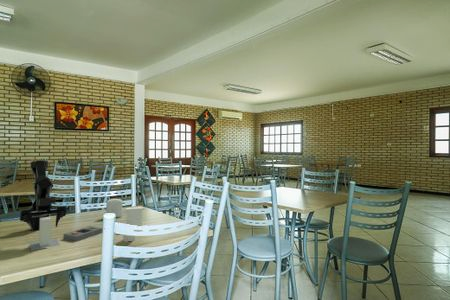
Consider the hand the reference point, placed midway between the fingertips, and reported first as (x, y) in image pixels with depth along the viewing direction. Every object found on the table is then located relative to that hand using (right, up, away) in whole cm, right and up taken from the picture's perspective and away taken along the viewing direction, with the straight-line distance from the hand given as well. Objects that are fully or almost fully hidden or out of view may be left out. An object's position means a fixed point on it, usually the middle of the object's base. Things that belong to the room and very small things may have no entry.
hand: (45, 228), depth 128 cm
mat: (0, -8, 0) cm, 8 cm away
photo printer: (+10, -9, +56) cm, 58 cm away
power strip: (+11, -8, +14) cm, 19 cm away
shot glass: (+36, -9, +10) cm, 39 cm away
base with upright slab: (+32, -9, +30) cm, 44 cm away
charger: (0, -7, 0) cm, 7 cm away
